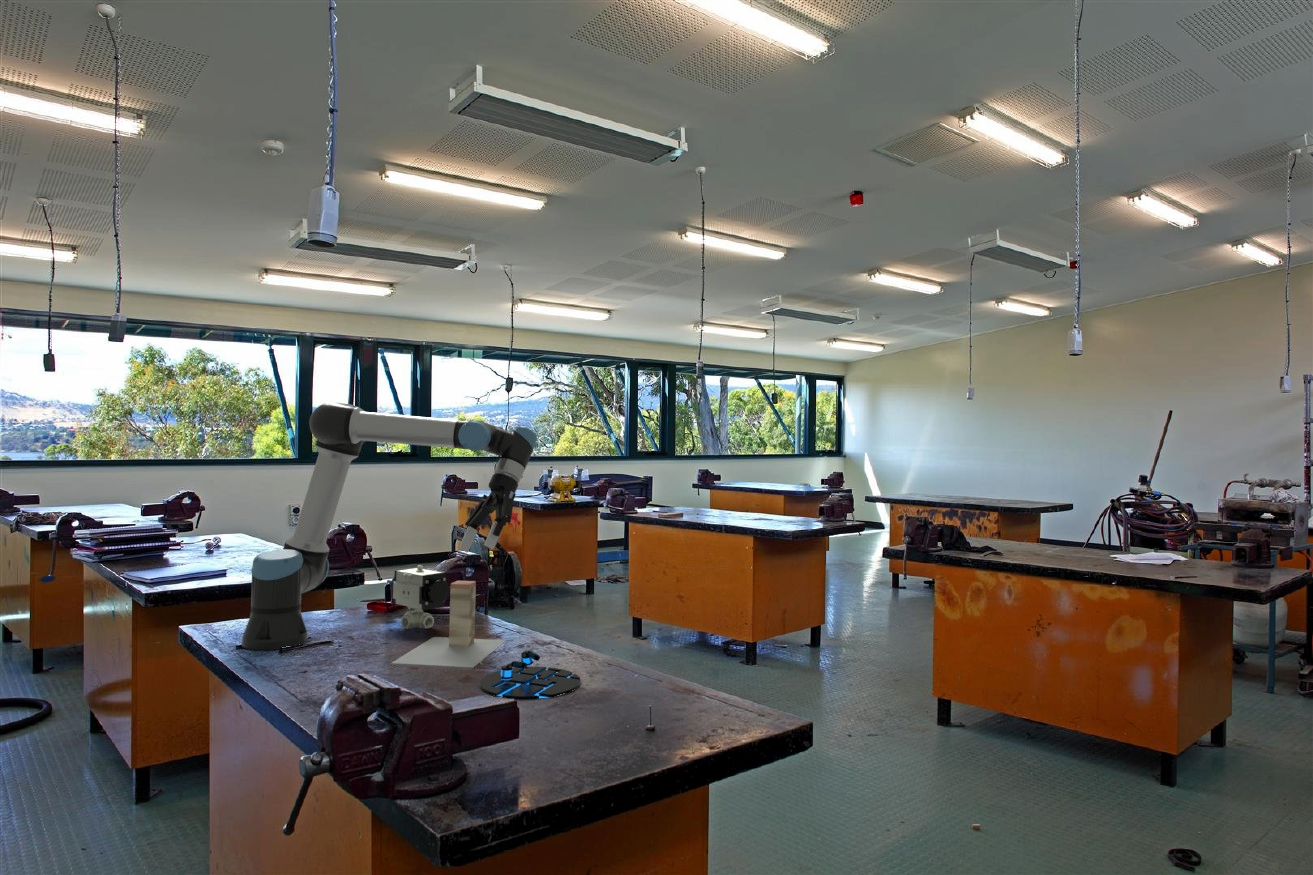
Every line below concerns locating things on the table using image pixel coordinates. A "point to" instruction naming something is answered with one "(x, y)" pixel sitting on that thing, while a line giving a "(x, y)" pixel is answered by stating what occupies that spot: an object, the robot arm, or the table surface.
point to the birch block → (462, 613)
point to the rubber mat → (448, 654)
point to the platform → (528, 680)
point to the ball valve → (419, 594)
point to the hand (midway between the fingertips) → (475, 548)
